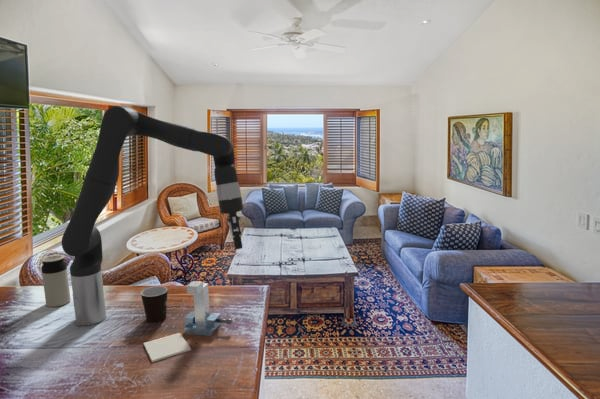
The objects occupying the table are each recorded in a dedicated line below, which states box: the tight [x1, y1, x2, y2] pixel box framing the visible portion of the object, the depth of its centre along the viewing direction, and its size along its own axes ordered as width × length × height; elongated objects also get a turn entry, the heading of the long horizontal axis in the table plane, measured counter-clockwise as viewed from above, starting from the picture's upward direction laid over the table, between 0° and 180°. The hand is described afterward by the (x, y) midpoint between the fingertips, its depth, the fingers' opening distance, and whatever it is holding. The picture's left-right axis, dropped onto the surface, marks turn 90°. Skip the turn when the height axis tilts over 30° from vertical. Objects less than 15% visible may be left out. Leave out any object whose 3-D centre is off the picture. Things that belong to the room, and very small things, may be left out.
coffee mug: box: [140, 285, 169, 324], centre depth 137 cm, size 12×9×10 cm
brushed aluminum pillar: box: [186, 280, 211, 326], centre depth 126 cm, size 8×4×15 cm, turn 168°
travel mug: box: [40, 254, 72, 308], centre depth 148 cm, size 8×8×18 cm
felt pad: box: [143, 332, 192, 363], centre depth 118 cm, size 11×11×1 cm
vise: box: [183, 310, 233, 337], centre depth 129 cm, size 8×15×4 cm, turn 78°
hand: (238, 246), depth 128 cm, fingers open, 8 cm apart
